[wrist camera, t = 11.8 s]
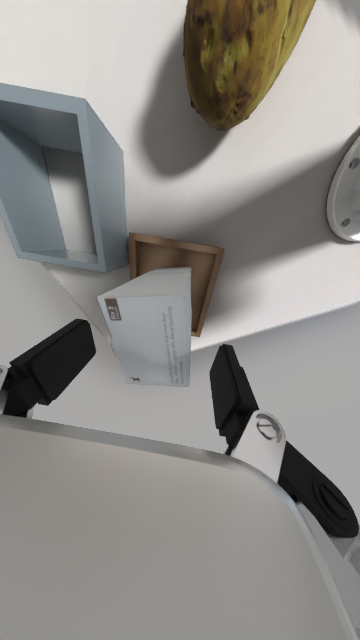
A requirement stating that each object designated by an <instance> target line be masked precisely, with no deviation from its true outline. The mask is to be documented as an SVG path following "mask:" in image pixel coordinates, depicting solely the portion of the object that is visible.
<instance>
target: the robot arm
mask: <svg viewBox="0 0 360 640" xmlns="http://www.w3.org/2000/svg"><path fill="white" fill-rule="evenodd" d="M327 218H328V222H329V224H330V227H331V229H332V230H333V231H334V233H335V234H336V235H338V236H339V237H341V238H342V239H345V240H348V241H358V242H360V136H359V137H358V138H357V139H356V140H355V142H354V143H353V145H352V146H351V148H350V149H349V151H348V152H347V153H346V155H345V157H344V158H343V160H342V162H341V164H340V166H339V168H338V169H337V172H336V174H335V176H334V179H333V181H332V184H331V187H330V191H329V195H328V200H327ZM95 353H96V350H95V344H94V340H93V336H92V331H91V327H90V324H89V323H88V321H87V320H82V319H75V320H74V321H72V322H71V323H69V324H68V325H66V326H64V327H63V328H61V329H60V330H58V331H57V332H55V333H54V334H52V335H51V336H49V337H48V338H46V339H45V340H43V341H42V342H40V343H39V344H37V345H35V346H34V347H32V348H31V349H29V350H28V351H26V352H25V353H23V354H22V355H20V356H19V357H17V358H16V359H14V360H13V361H11V362H10V364H11V367H10V368H7V367H6V366H3V365H0V640H360V526H359V524H358V521H357V518H356V516H355V513H354V511H353V509H352V507H351V505H350V504H349V502H348V500H347V499H346V498H345V496H344V495H343V494H342V492H341V491H340V490H339V489H338V488H337V487H336V486H335V485H334V484H333V482H331V481H330V480H329V479H328V478H327V477H326V476H325V475H324V474H323V473H322V472H320V471H319V470H318V469H317V468H316V467H315V466H314V465H313V464H312V463H311V462H309V461H308V460H307V459H306V458H305V457H304V456H303V455H302V454H301V453H299V451H297V450H296V449H295V448H294V447H293V446H292V445H291V444H290V443H289V442H288V441H286V435H285V432H284V430H283V428H282V426H281V424H280V423H279V422H278V421H277V420H276V419H275V418H274V417H273V416H272V415H271V414H269V413H267V412H265V411H263V410H259V408H258V405H257V403H256V400H255V397H254V395H253V392H252V390H251V387H250V385H249V382H248V380H247V377H246V374H245V372H244V369H243V368H242V367H241V366H240V365H239V362H238V360H237V357H236V354H235V351H234V349H233V346H232V345H226V344H223V345H222V346H220V347H219V350H218V352H217V355H216V357H215V360H214V362H213V365H212V367H211V370H210V381H211V391H212V399H213V407H214V416H215V424H216V428H217V429H219V434H220V436H225V437H226V441H227V444H228V446H227V448H226V449H225V452H224V453H223V454H220V453H216V452H213V451H207V450H203V449H197V448H193V447H188V446H183V445H177V444H172V443H166V442H161V441H155V440H150V439H144V438H139V437H133V436H127V435H122V434H116V433H110V432H104V431H99V430H93V429H88V428H82V427H76V426H70V425H64V424H58V423H53V422H47V421H41V420H35V419H32V415H33V408H34V405H35V404H36V403H37V402H38V404H42V405H47V406H48V405H49V404H50V403H51V401H53V400H55V399H56V398H57V397H58V396H59V395H60V394H61V393H62V392H63V391H64V390H65V388H66V387H67V386H68V385H69V384H70V383H71V382H72V380H73V379H74V378H75V377H76V376H77V375H78V374H79V372H80V371H81V370H82V369H83V368H84V367H85V366H86V364H87V363H88V362H89V361H90V360H91V359H92V358H93V356H94V355H95Z"/></svg>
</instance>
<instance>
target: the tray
mask: <svg viewBox="0 0 360 640" xmlns="http://www.w3.org/2000/svg"><path fill="white" fill-rule="evenodd" d="M129 246H130V277H131V280H133V279H135V278H137V277H139V276H141V275H143V274H145V273H147V272H149V271H151V270H153V269H156V268H174V267H191V308H192V321H191V336H196V337H200V335H201V331H202V327H203V324H204V320H205V317H206V313H207V309H208V306H209V302H210V299H211V295H212V291H213V288H214V284H215V280H216V277H217V273H218V270H219V266H220V262H221V259H222V255H223V252H224V249H223V248H217V247H211V246H206V245H200V244H194V243H188V242H183V241H177V240H171V239H165V238H159V237H154V236H148V235H142V234H136V233H130V232H129Z"/></svg>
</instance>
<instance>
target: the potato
mask: <svg viewBox="0 0 360 640" xmlns="http://www.w3.org/2000/svg"><path fill="white" fill-rule="evenodd" d="M315 2H316V0H188V3H187V6H186V8H187V9H186V16H185V22H184V52H183V56H184V59H185V71H186V79H187V86H188V91H189V94H190V98H191V106H192V108H195V109H196V111H197V113H199V114H200V115H201V116H202V117H203V119H204V120H205V121H206V122H207V123H208V124H209V125H210V127H211V126H212V127H214V128H216V129H217V130H228V129H230V128H232V127H234V126H236V125H238V124H240V123H241V122H242V121H244V120H247V119H248V118H249V116H250V114H251V113H252V112H253V111H254V110H255V109H256V107H257V106H258V105H259V103H260V102H261V101H262V100H263V98H264V97H265V95H266V94H267V93H268V91H269V90H270V88H271V87H272V85H273V84H274V82H275V80H276V79H277V77H278V75H279V73H280V71H281V70H282V68H283V66H284V65H285V63H286V62H287V60H288V58H289V57H290V55H291V53H292V51H293V49H294V47H295V46H296V44H297V42H298V40H299V37H300V35H301V33H302V31H303V28H304V26H305V24H306V22H307V20H308V18H309V16H310V13H311V11H312V9H313V6H314V4H315Z"/></svg>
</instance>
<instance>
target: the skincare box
mask: <svg viewBox="0 0 360 640" xmlns="http://www.w3.org/2000/svg"><path fill="white" fill-rule="evenodd" d="M97 300H98V302H99V305H100V308H101V310H102V313H103V315H104V318H105V321H106V324H107V326H108V329H109V332H110V335H111V346H112V350H113V352H114V354H115V356H116V357H117V358H118V359H119V361H120V364H121V367H122V370H123V373H124V376H125V380H126V383H127V384H138V385H164V386H176V387H188V386H189V381H190V348H191V321H192V308H191V267H174V268H156V269H153V270H151V271H149V272H147V273H145V274H143V275H141V276H139V277H137V278H135V279H133V280H131V281H129V282H127V283H125V284H122V285H120V286H118V287H116V288H114V289H112V290H110V291H108V292H106V293H104V294H101V295H99V296H98V297H97Z"/></svg>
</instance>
